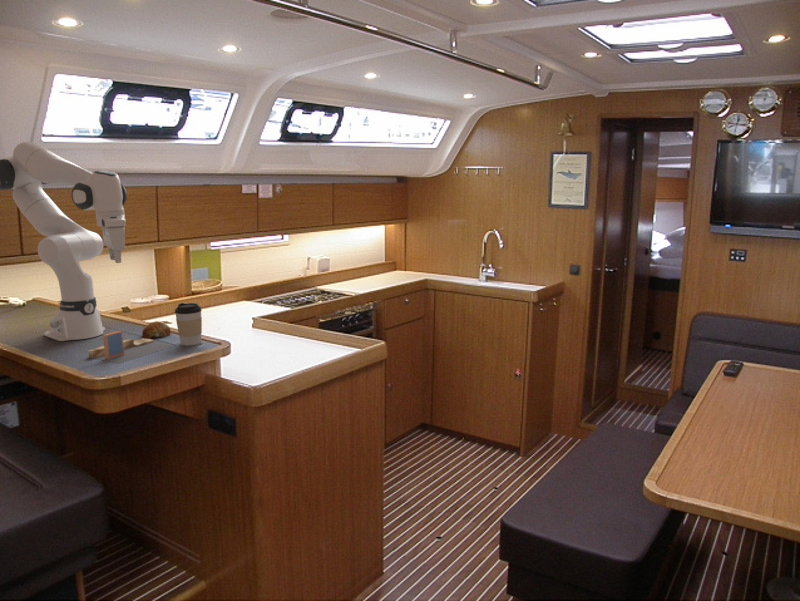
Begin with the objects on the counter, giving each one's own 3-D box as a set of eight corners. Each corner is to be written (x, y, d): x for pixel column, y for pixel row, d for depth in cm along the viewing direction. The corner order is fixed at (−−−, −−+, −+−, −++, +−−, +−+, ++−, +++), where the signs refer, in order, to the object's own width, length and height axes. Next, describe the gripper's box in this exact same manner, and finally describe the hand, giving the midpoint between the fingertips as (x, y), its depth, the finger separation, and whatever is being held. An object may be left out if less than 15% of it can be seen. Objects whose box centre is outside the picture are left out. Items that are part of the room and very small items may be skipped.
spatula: (96, 358, 211) (95, 351, 211) (85, 356, 214) (84, 349, 213) (153, 341, 231) (153, 335, 230) (143, 340, 233) (142, 333, 233)
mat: (87, 360, 214) (87, 357, 213) (144, 343, 233) (144, 340, 233) (119, 366, 206) (119, 363, 206) (176, 348, 226) (176, 345, 225)
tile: (105, 358, 211) (102, 335, 210) (121, 353, 216) (118, 330, 215) (108, 359, 210) (106, 335, 209) (124, 354, 216) (121, 331, 214)
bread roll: (174, 345, 244) (176, 324, 245) (162, 340, 234) (164, 318, 235) (149, 344, 245) (151, 324, 246) (135, 340, 235) (138, 318, 236)
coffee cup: (210, 343, 231) (206, 302, 228) (192, 350, 223) (188, 307, 220) (190, 341, 235) (186, 300, 232) (172, 347, 227) (168, 305, 223)
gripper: (96, 219, 223) (101, 259, 225) (105, 222, 206) (110, 265, 208) (115, 218, 226) (120, 257, 229) (126, 221, 209) (131, 263, 212)
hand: (115, 261), depth 218 cm, fingers open, 8 cm apart
